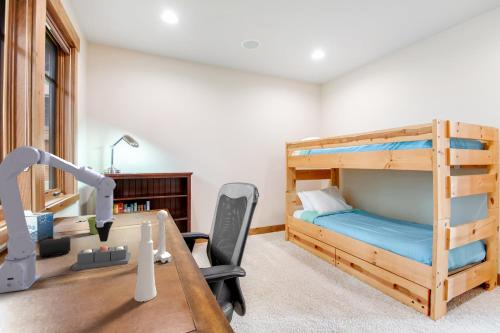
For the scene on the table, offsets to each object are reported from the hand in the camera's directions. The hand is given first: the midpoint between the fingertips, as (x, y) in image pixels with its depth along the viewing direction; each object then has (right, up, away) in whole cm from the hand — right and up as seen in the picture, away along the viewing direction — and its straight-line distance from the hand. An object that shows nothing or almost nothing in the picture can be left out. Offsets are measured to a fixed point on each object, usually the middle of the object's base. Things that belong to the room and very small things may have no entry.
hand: (103, 241), depth 94 cm
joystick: (+20, -9, +3) cm, 22 cm away
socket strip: (0, -8, 0) cm, 8 cm away
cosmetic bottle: (+27, -9, -24) cm, 37 cm away
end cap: (-25, -8, +8) cm, 28 cm away
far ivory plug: (+5, -8, +2) cm, 10 cm away
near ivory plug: (-5, -8, -2) cm, 9 cm away
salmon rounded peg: (0, -7, 0) cm, 7 cm away
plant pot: (-29, -8, +40) cm, 51 cm away
